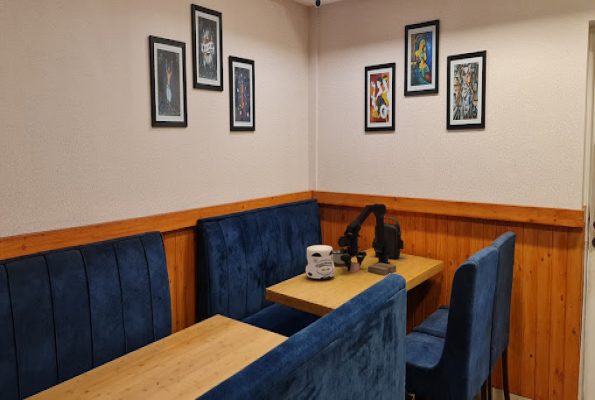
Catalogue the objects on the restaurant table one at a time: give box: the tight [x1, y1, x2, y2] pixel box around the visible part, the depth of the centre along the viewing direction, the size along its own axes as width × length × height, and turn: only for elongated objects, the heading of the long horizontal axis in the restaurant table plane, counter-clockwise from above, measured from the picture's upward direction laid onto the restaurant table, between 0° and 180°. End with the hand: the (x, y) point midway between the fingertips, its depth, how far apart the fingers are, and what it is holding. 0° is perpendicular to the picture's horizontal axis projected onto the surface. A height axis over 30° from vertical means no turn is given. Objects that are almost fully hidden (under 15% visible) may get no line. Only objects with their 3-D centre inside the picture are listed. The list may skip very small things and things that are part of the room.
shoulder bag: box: [370, 216, 407, 262], centre depth 317 cm, size 23×9×28 cm, turn 52°
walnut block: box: [367, 262, 397, 276], centre depth 285 cm, size 12×12×4 cm
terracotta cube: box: [348, 261, 360, 274], centre depth 288 cm, size 5×5×5 cm
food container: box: [333, 249, 347, 268], centre depth 301 cm, size 12×6×10 cm, turn 84°
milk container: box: [305, 244, 336, 281], centre depth 276 cm, size 17×17×18 cm
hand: (353, 269), depth 288 cm, fingers open, 9 cm apart
